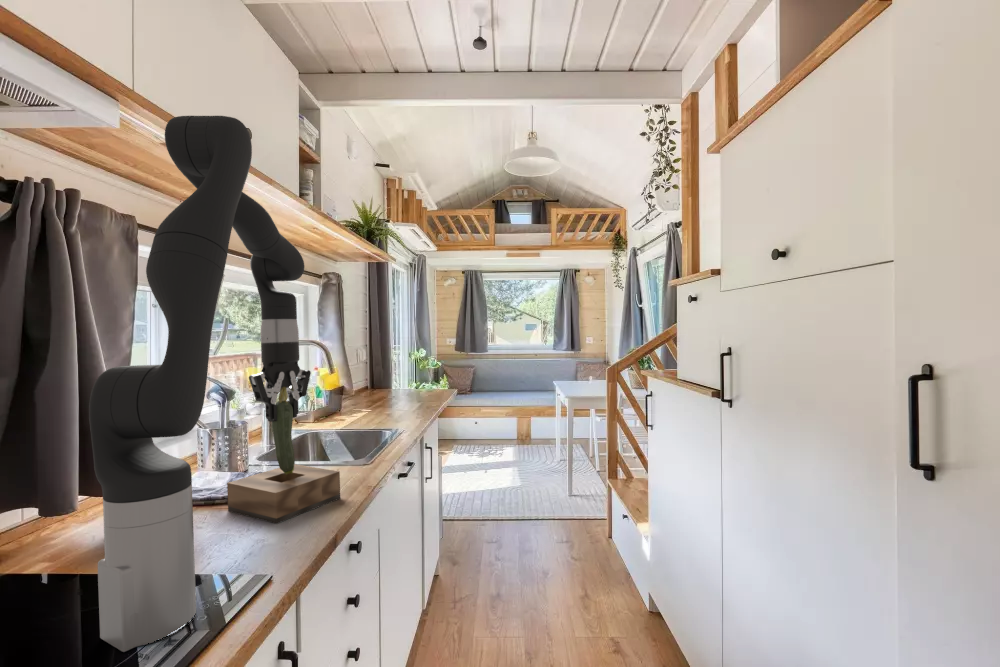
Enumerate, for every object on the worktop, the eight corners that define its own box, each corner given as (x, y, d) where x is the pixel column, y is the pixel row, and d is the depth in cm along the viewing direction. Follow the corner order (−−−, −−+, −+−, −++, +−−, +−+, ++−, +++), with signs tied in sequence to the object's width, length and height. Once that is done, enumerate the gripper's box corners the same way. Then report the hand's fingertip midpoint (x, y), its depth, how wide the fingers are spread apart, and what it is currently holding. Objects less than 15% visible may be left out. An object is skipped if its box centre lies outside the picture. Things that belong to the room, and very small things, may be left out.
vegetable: (290, 478, 104) (286, 384, 104) (269, 478, 104) (266, 385, 104) (299, 472, 109) (295, 382, 108) (279, 472, 109) (276, 382, 108)
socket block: (276, 523, 96) (275, 493, 96) (228, 511, 104) (227, 482, 103) (340, 498, 109) (339, 471, 109) (293, 488, 117) (292, 463, 117)
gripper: (260, 341, 98) (263, 426, 98) (318, 339, 111) (321, 415, 111) (238, 342, 102) (240, 424, 102) (296, 340, 114) (299, 413, 114)
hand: (282, 418), depth 106 cm, fingers closed on vegetable, 4 cm apart
